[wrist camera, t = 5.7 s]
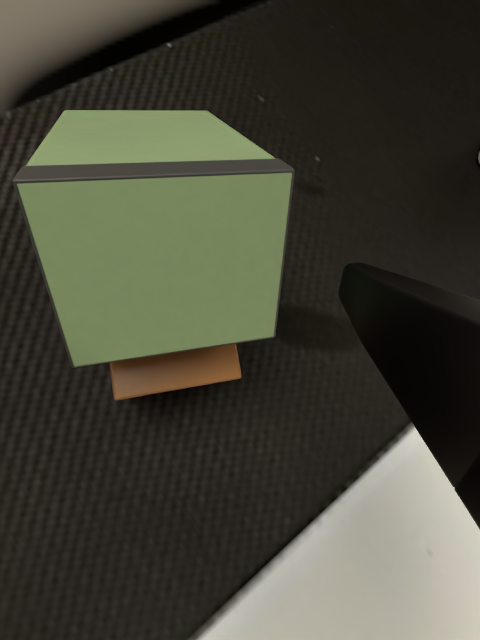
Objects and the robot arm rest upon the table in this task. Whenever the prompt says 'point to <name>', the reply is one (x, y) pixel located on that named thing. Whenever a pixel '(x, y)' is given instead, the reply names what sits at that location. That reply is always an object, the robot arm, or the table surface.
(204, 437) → the table surface
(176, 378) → the oak block
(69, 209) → the box
